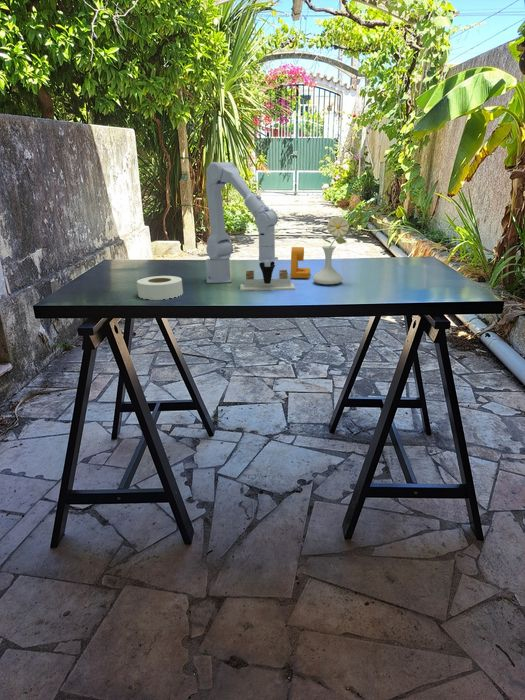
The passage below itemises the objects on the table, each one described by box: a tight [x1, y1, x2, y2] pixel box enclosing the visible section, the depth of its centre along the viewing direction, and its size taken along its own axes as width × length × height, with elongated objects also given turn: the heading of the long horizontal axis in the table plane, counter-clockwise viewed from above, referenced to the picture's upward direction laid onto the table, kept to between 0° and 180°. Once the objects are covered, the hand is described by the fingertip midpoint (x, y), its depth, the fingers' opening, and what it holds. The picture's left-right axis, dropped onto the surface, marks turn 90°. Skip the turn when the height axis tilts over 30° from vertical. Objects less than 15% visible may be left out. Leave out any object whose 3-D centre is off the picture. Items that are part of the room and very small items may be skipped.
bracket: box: [290, 246, 311, 279], centre depth 193 cm, size 11×7×12 cm, turn 172°
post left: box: [245, 270, 255, 279], centre depth 186 cm, size 3×5×4 cm, turn 1°
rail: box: [243, 278, 291, 287], centre depth 177 cm, size 17×2×2 cm, turn 91°
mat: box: [239, 282, 296, 292], centre depth 178 cm, size 20×8×1 cm, turn 91°
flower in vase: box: [312, 215, 350, 285], centre depth 178 cm, size 13×11×25 cm
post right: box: [278, 269, 289, 279], centre depth 186 cm, size 3×5×4 cm, turn 1°
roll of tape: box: [136, 275, 184, 301], centre depth 170 cm, size 16×16×6 cm
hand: (267, 282), depth 177 cm, fingers closed on rail, 2 cm apart
